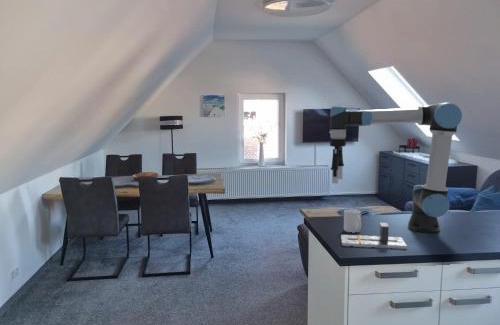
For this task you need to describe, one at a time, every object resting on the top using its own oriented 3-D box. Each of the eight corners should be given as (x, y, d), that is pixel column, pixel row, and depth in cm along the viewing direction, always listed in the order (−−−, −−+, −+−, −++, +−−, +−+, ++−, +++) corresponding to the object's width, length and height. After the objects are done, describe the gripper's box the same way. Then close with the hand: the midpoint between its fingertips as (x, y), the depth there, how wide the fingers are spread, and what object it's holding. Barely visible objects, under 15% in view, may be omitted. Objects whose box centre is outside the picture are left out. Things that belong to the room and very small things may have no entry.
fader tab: (386, 237, 195) (386, 222, 194) (388, 241, 189) (388, 226, 188) (379, 237, 195) (379, 222, 194) (381, 241, 189) (381, 226, 188)
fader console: (401, 240, 197) (401, 236, 197) (406, 249, 184) (406, 245, 184) (340, 237, 202) (340, 234, 202) (342, 246, 189) (342, 242, 189)
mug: (367, 234, 207) (368, 214, 206) (353, 235, 205) (353, 215, 204) (354, 227, 219) (355, 208, 218) (340, 229, 216) (341, 209, 215)
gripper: (334, 136, 217) (334, 177, 219) (325, 139, 193) (325, 184, 196) (349, 136, 214) (348, 177, 216) (341, 139, 191) (341, 185, 193)
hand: (337, 181), depth 206 cm, fingers open, 13 cm apart
